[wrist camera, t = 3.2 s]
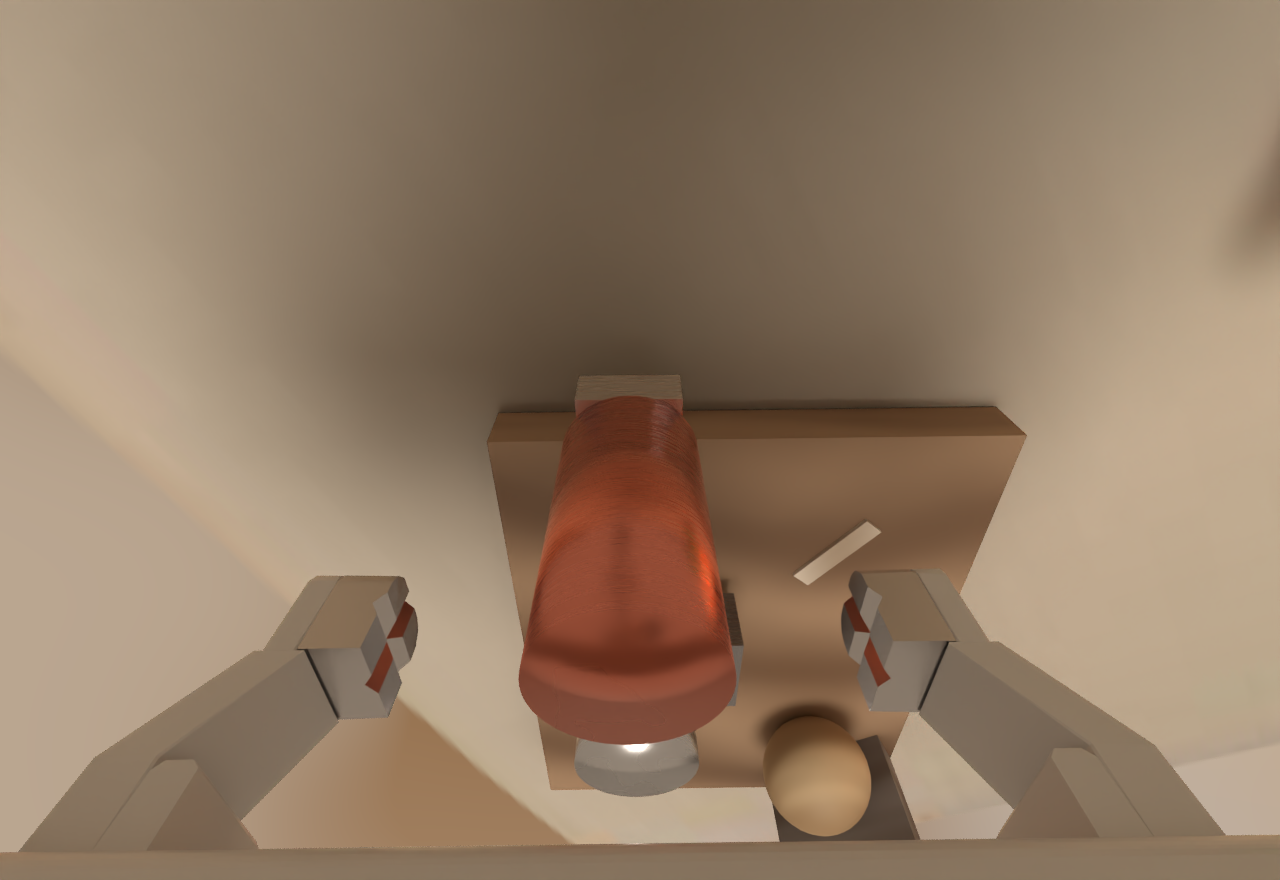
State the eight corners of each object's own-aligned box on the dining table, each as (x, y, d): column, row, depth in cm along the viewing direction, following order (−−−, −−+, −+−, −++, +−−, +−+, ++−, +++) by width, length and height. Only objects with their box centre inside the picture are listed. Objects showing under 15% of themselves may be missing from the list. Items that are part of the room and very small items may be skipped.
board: (498, 413, 17) (447, 542, 12) (996, 406, 17) (1132, 533, 13) (554, 754, 28) (538, 895, 23) (866, 750, 28) (914, 890, 23)
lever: (539, 365, 14) (458, 613, 8) (760, 362, 14) (867, 609, 8) (582, 744, 23) (563, 1002, 17) (716, 742, 23) (747, 999, 17)
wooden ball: (759, 695, 23) (781, 804, 19) (860, 694, 23) (899, 802, 19) (750, 750, 25) (768, 857, 22) (842, 749, 25) (874, 855, 22)
